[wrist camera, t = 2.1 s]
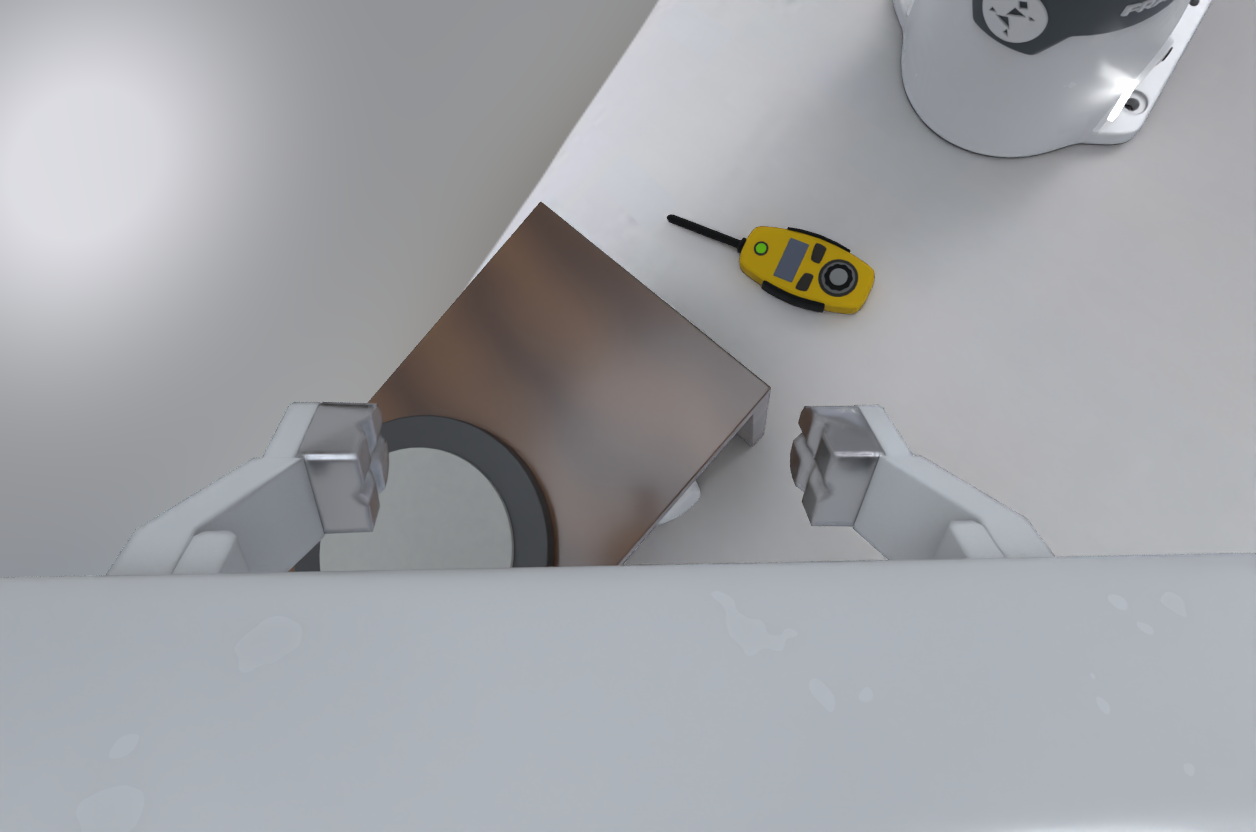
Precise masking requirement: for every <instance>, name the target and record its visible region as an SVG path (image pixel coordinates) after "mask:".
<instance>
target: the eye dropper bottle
mask: <svg viewBox="0 0 1256 832" xmlns="http://www.w3.org/2000/svg"><path fill="white" fill-rule="evenodd" d="M700 495H701V494H700V489H699V486H698V484H697V482H696V480H695V481H694V483H693V484H692V485H691V486H690V487H689V488H688V489H687V491H686V492H685V493H684V494H683V495H682V496H681V497H680V499H679V500H678V501H677V502H676V503H675V504H674V506H673V507H672V508H671V509H670V510H669V511H668V512H667V514H666V515H665V516H664V517H663V518H662V519H661V520H660V522H659V523H658V524H657V525H660V524H663V523H666V522H668V521H670V520H673V519H675V518H676V517H678V516H680V515H681V514H683V513H684V512H686V511H687V510H688V509H689V508H690V507H692V506H693V505H694V504H695V503H696V501H697V500H698V499H699V497H700Z"/></svg>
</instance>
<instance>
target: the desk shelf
mask: <svg viewBox="0 0 1256 832" xmlns="http://www.w3.org/2000/svg"><path fill="white" fill-rule="evenodd" d="M770 390H771V387H770V386H768V385H767V384H766V383H765V382H763V381H762V380H761V379H760V378H758V377H757V376H756V375H755V374H754V373H752V372H751V371H750V370H749V369H747V368H746V367H745V366H744V365H742V364H741V363H740V362H739V361H737V360H736V359H735V358H734V357H733V356H731V355H730V354H729V353H728V352H726V351H725V350H724V349H723V348H721V347H720V346H719V345H718V344H716V343H715V342H714V341H713V340H712V339H710V338H709V337H708V336H707V335H705V334H704V333H703V332H702V331H700V330H699V329H698V328H697V327H695V326H694V325H693V324H692V323H691V322H689V321H688V320H687V319H686V318H684V317H683V316H682V315H681V314H679V313H678V312H677V311H676V310H674V309H673V308H672V307H671V306H670V305H668V304H667V303H666V302H665V301H663V300H662V299H661V298H660V297H658V296H657V295H656V294H655V293H653V292H652V291H651V290H650V289H648V288H647V287H646V286H645V285H644V284H642V283H641V282H640V281H639V280H637V279H636V278H635V277H634V276H632V275H631V274H630V273H629V272H627V271H626V270H625V269H624V268H623V267H621V266H620V265H619V264H618V263H616V262H615V261H614V260H613V259H611V258H610V257H609V256H608V255H606V254H605V253H604V252H603V251H602V250H600V249H599V248H598V247H597V246H595V245H594V244H593V243H592V242H590V241H589V240H588V239H587V238H585V237H584V236H583V235H582V234H581V233H579V232H578V231H577V230H576V229H574V228H573V227H572V226H571V225H569V224H568V223H567V222H566V221H564V220H563V219H562V218H561V217H560V216H558V215H557V214H556V213H555V212H553V211H552V210H551V209H550V208H548V207H547V206H546V205H545V204H543V203H542V202H540V203H539V204H538V205H537V206H536V208H535V209H534V210H533V211H532V212H531V213H530V215H529V216H528V217H527V218H526V219H525V220H524V222H523V223H522V224H521V225H520V226H519V227H518V229H517V230H516V231H515V232H514V233H513V234H512V236H511V237H510V238H509V239H508V240H507V241H506V242H505V244H504V245H503V246H502V247H501V248H500V249H499V251H498V252H497V253H496V254H495V255H494V256H493V258H492V259H491V260H490V261H489V262H488V263H487V265H486V266H485V267H484V268H483V269H482V270H481V272H480V273H479V274H478V275H477V276H476V277H475V279H474V280H473V281H472V282H471V283H470V284H469V286H468V287H467V288H466V289H465V290H464V291H463V293H462V294H461V295H460V296H459V297H458V298H457V299H456V301H455V302H454V303H453V304H452V305H451V306H450V308H449V309H448V310H447V311H446V312H445V313H444V315H443V316H442V317H441V318H440V319H439V321H438V322H437V323H436V324H435V325H434V326H433V328H432V329H431V330H430V331H429V332H428V333H427V334H426V336H425V337H424V338H423V339H422V340H421V341H420V343H419V344H418V345H417V346H416V347H415V349H414V350H413V351H412V352H411V353H410V354H409V355H408V356H407V358H406V359H405V360H404V361H403V362H402V363H401V365H400V366H399V367H398V368H397V369H396V371H395V372H394V373H393V374H392V375H391V376H390V377H389V379H388V380H387V381H386V382H385V383H384V384H383V386H382V387H381V388H380V389H379V390H378V392H377V393H376V394H375V395H374V396H373V397H372V398H371V400H370V401H369V402H368V403H374V404H378V405H379V407H380V409H381V413H382V418H383V423H384V422H387V421H391V420H394V419H397V418H402V417H408V416H415V415H435V416H443V417H449V418H453V419H457V420H461V421H464V422H467V423H471V424H473V425H475V426H478V427H480V428H482V429H485V430H487V431H488V432H490V433H492V434H493V435H495V436H497V437H498V438H500V439H501V440H502V441H504V442H505V443H506V444H507V445H509V446H510V447H511V448H512V449H513V450H514V451H515V452H516V453H517V454H518V455H519V456H520V457H521V458H522V459H523V460H524V462H525V463H526V464H527V466H528V467H529V469H530V470H531V471H532V473H533V474H534V476H535V478H536V480H537V482H538V484H539V485H540V487H541V489H542V492H543V494H544V497H545V500H546V502H547V505H548V508H549V513H550V517H551V521H552V527H553V537H554V561H553V567H565V566H617V565H622V564H623V563H624V562H625V561H626V560H627V558H628V557H629V556H630V555H631V554H632V553H633V552H634V550H635V549H636V548H637V547H638V546H639V545H640V544H641V542H642V541H643V540H644V539H645V538H646V537H647V535H648V534H649V533H650V532H651V531H652V530H653V529H654V527H655V526H656V525H657V524H658V523H659V522H660V520H661V519H662V518H663V517H664V516H665V515H666V514H667V512H668V511H669V510H670V509H671V508H672V507H673V506H674V504H675V503H676V502H677V501H678V500H679V499H680V497H681V496H682V495H683V494H684V493H685V492H686V491H687V489H688V488H689V487H690V486H691V485H692V484H693V483H694V481H695V480H696V479H697V478H698V477H699V476H700V474H701V473H702V472H703V471H704V470H705V469H706V468H707V466H708V465H709V464H710V463H711V462H712V461H713V459H714V458H715V457H716V456H717V455H718V454H719V453H720V451H721V450H722V449H723V448H724V447H725V446H726V445H727V443H728V442H729V441H730V440H731V439H732V438H733V436H734V435H735V434H736V433H737V434H738V435H739V436H740V437H741V438H743V439H744V440H745V441H746V442H747V443H749V444H750V445H751V446H752V447H753V446H754V445H755V444H756V443H757V441H758V440H759V439H760V438H761V437H762V436H763V435H764V430H765V423H766V417H767V410H768V404H769V398H770ZM288 572H294V566H293V567H292V568H291V569H290V570H289V571H288Z"/></svg>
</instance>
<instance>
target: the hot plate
mask: <svg viewBox="0 0 1256 832" xmlns="http://www.w3.org/2000/svg"><path fill="white" fill-rule="evenodd" d="M380 435H381V436H382V437H384V438H385V439H386V440H387V445H388V451H389V471H388V479H387V483H386V487H385V489H384V490H383V491H382V492H380V493H379V494H378V496H379V502H380V509H379V512H378V516H377V519H376V523H375V526H374V530H373V532H359V533H334V534H324V535H325V537H324V538H323V539H322V540H320V541H319V542H318V543H317V544H316V545H315V546H314V547H313V548H312V549H311V550H310V551H309V552H308V553H307V554H306V555H305V556H304V557H303V558H302V559H301V560H300V561H298V562H297V563H296V564H295V565H294V572H309V571H360V570H412V569H463V568H514V567H553V561H554V537H553V527H552V521H551V517H550V513H549V508H548V505H547V502H546V500H545V497H544V494H543V492H542V489H541V487H540V485H539V484H538V482H537V480H536V478H535V476H534V474H533V473H532V471H531V470H530V469H529V467H528V466H527V464H526V463H525V462H524V460H523V459H522V458H521V457H520V456H519V455H518V454H517V453H516V452H515V451H514V450H513V449H512V448H511V447H510V446H509V445H507V444H506V443H505V442H504V441H502V440H501V439H500V438H498V437H497V436H495V435H493V434H492V433H490V432H488V431H487V430H485V429H482V428H480V427H478V426H475V425H473V424H471V423H467V422H464V421H461V420H457V419H453V418H449V417H443V416H435V415H415V416H408V417H402V418H397V419H394V420H391V421H387V422H384V423H383V425H382V428H381V431H380Z"/></svg>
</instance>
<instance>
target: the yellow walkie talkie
mask: <svg viewBox="0 0 1256 832" xmlns="http://www.w3.org/2000/svg"><path fill="white" fill-rule="evenodd" d="M667 219H668V221H669V222H671V223H673V224H676V225H678V226H681V227H684V228H686V229H689V230H691V231H694V232H697V233H699V234H702V235H704V236H707V237H709V238H712V239H715V240H717V241H720V242H722V243H725V244H728V245H730V246H733V247H735V248H737V250H738V253H740V254H741V255H740V258H739V263H740V268H741V270H742V271H743V272H744V273H745V274H746V275H747V276H749V277H750V278H751V279H753V280H754V281H755V282H757V283H759V284H760V285H762V289H764V290H765V291H767V292H768V293H770V294H771V295H773V296H775V297H777V298H779V299H781V300H783V301H785V302H787V303H789V304H792V305H795V306H798V307H801V308H804V309H808V310H812V311H817V312H823V311H824V310H825V311H830V312H836V313H844V314H853V313H856V312H857V311H859V310H860V309H861V307H862V306H863V304H864V303H865V301H866V299H867V297H868V295H869V293H870V291H871V288H872V286H873V282H874V278H875V276H874V270H873V269H872V268H871V267H870V266H869V265H867V264H866V263H865V262H863V261H862V260H860V259H859V258H857V257H856V256H854V255H852V254H851V253H850V250H849V249H847V248H846V247H844V246H842V245H841V244H839V243H837V242H835V241H833V240H831V239H828V238H826V237H824V236H822V235H819V234H816V233H812V232H809V231H805V230H801V229H796V228H790V227H788V229H782V228H776V227H765V226H760V227H756V228H755V229H754V230H753V231H752V232H751V233H750V235H749V236H748V238H747V239H746V238H743V239H742V240H738V239H735V238H733V237H730V236H728V235H725V234H722V233H720V232H717V231H715V230H712V229H709V228H707V227H704V226H701V225H699V224H696V223H694V222H691V221H688V220H686V219H683V218H681V217H678V216H675V215H671V214H670V215H668V216H667Z"/></svg>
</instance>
